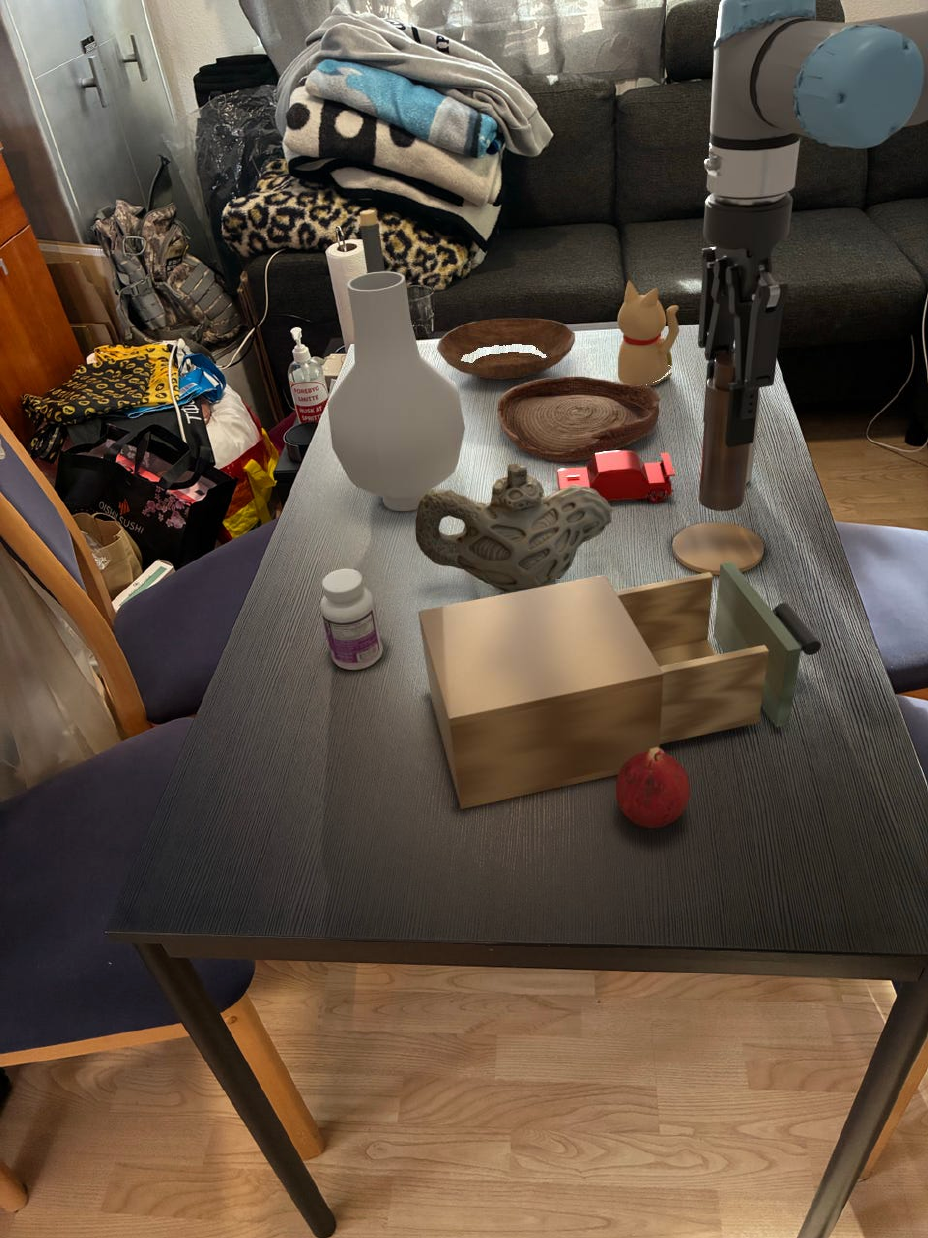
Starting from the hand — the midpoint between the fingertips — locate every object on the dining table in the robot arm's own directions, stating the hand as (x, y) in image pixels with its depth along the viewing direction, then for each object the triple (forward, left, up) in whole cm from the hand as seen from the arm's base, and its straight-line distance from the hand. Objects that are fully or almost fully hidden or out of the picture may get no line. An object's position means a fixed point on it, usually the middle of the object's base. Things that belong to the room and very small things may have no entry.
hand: (727, 431), depth 98 cm
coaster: (0, 0, -15) cm, 15 cm away
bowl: (+59, +10, -15) cm, 62 cm away
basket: (+34, +6, -15) cm, 38 cm away
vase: (+24, +32, -15) cm, 43 cm away
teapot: (+1, +23, -15) cm, 27 cm away
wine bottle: (+46, +30, -15) cm, 57 cm away
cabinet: (-22, +27, -15) cm, 38 cm away
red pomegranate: (-35, +21, -15) cm, 43 cm away
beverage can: (+14, -8, -15) cm, 22 cm away
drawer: (-22, +12, -14) cm, 29 cm away
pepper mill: (0, 0, -8) cm, 8 cm away
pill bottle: (-6, +42, -15) cm, 45 cm away
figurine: (+46, -9, -15) cm, 49 cm away
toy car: (+15, +7, -15) cm, 22 cm away
